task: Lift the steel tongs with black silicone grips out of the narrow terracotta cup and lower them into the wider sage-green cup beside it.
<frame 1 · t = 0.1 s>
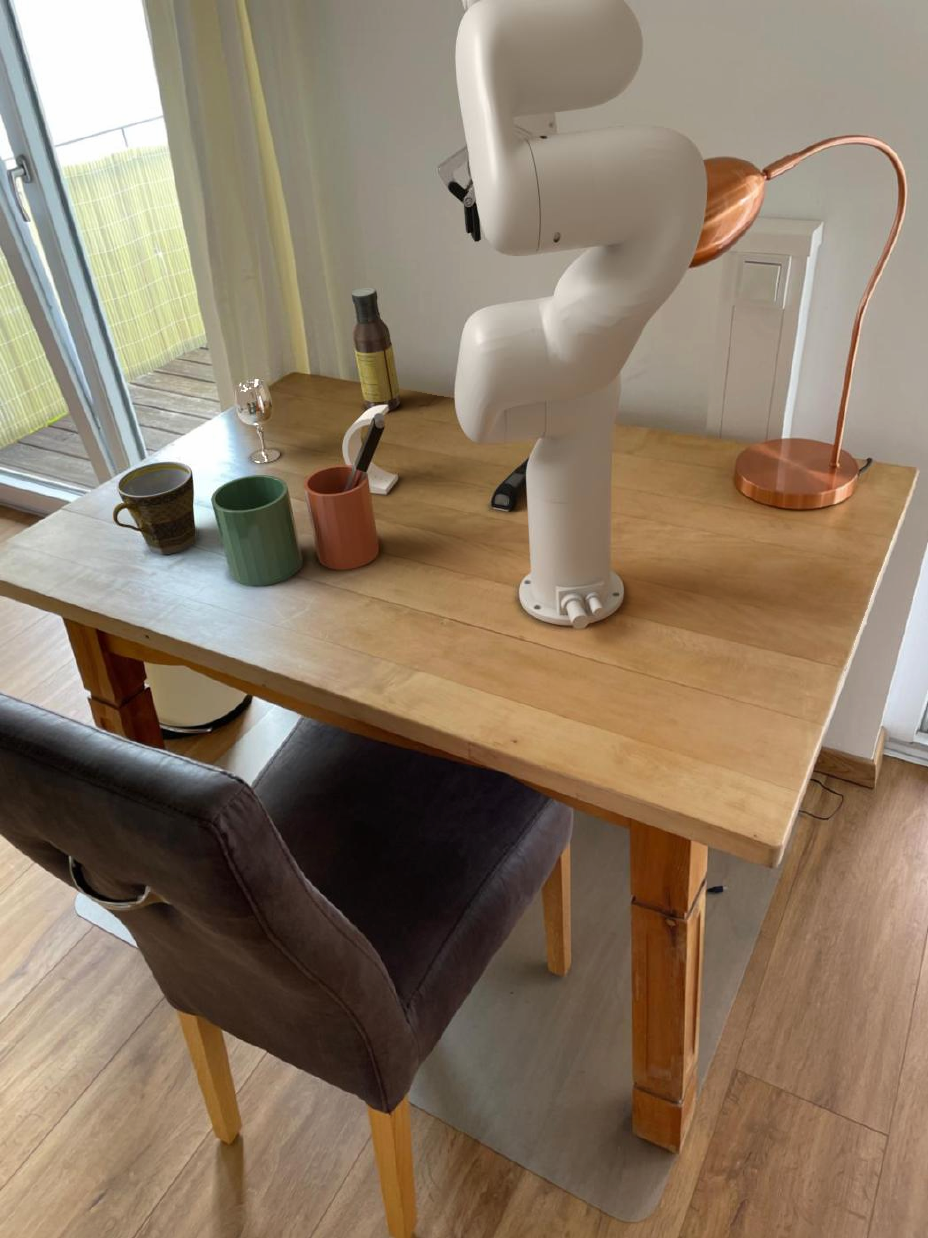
hand: (515, 233, 120), 37 cm above the table, tool pointing down, fingers open, 9 cm apart
headphone stand: (373, 486, 149), on the table
wineglass: (266, 457, 160), on the table
electric trimmer: (521, 486, 145), on the table
terracotta cup: (348, 552, 134), on the table, touching tongs
green cup: (266, 565, 133), on the table
ceramic cup: (165, 548, 139), on the table
sauce bottle: (382, 407, 172), on the table
tongs: (327, 550, 133), point 1 cm above the table, touching terracotta cup
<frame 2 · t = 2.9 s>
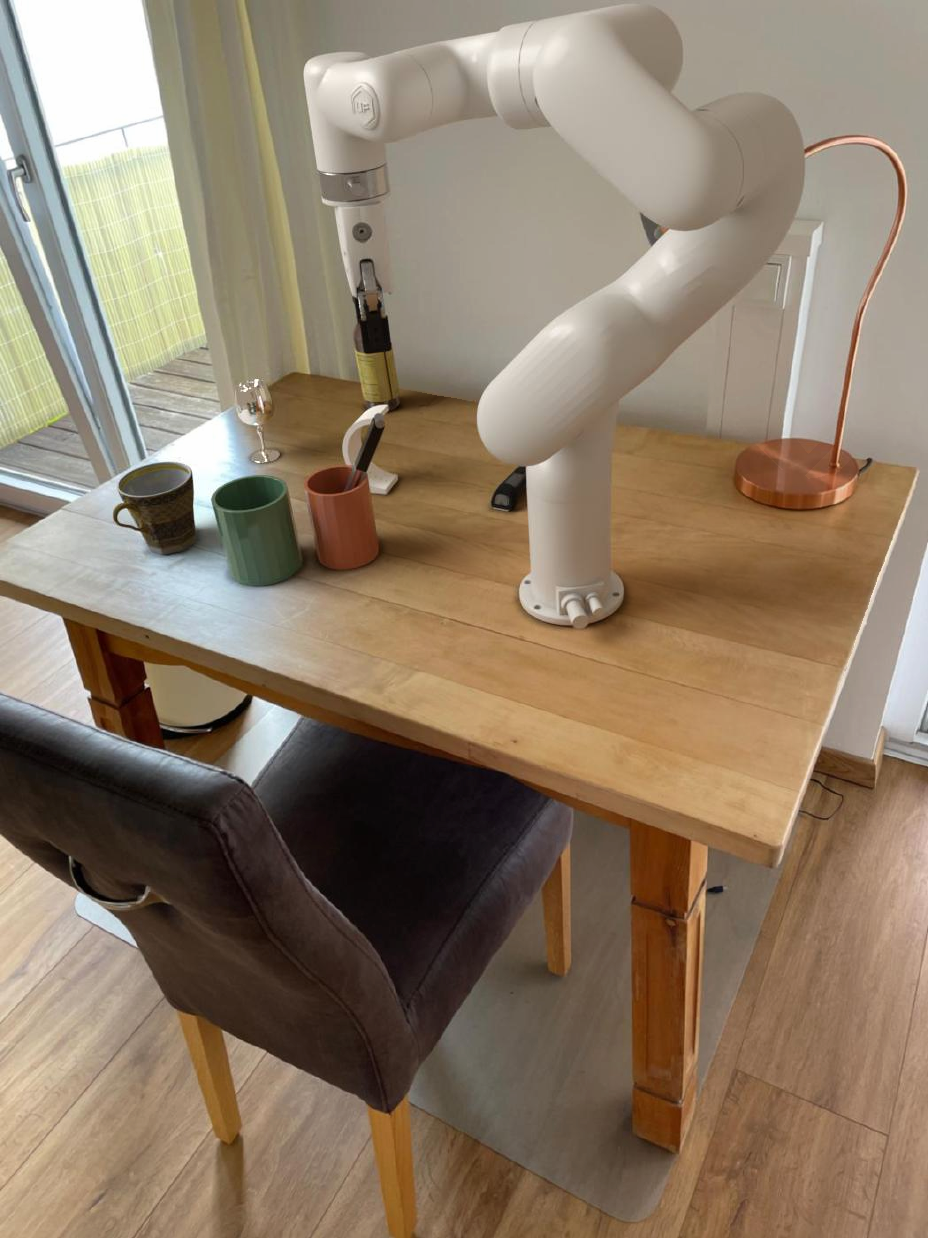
hand: (374, 336, 119), 28 cm above the table, tool pointing down, fingers open, 9 cm apart
nothing on the table moved.
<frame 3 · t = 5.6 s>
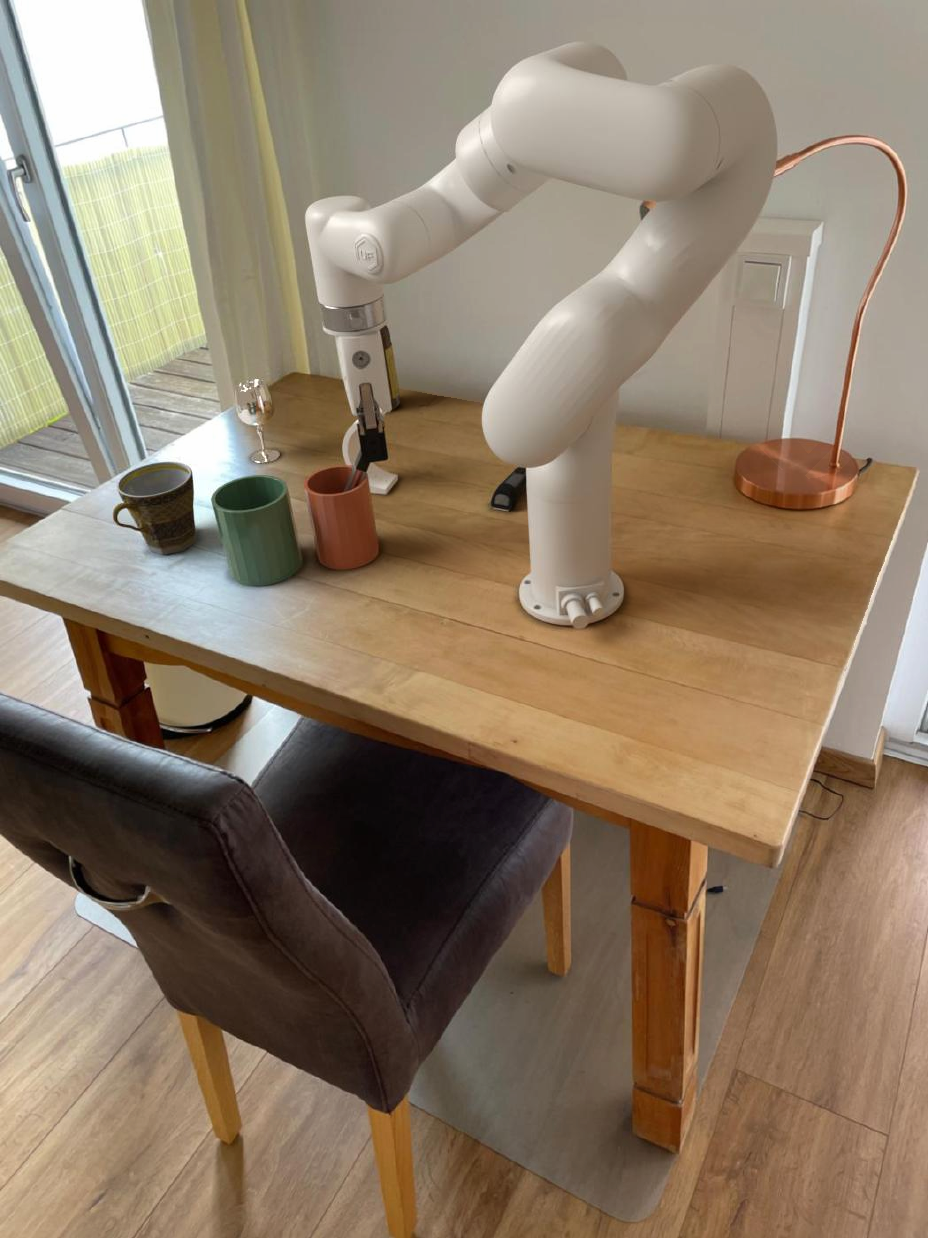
hand: (374, 455, 127), 14 cm above the table, tool pointing down, fingers closed on tongs, 2 cm apart
tongs: (327, 550, 133), point 1 cm above the table, touching gripper, terracotta cup
everything else where it was.
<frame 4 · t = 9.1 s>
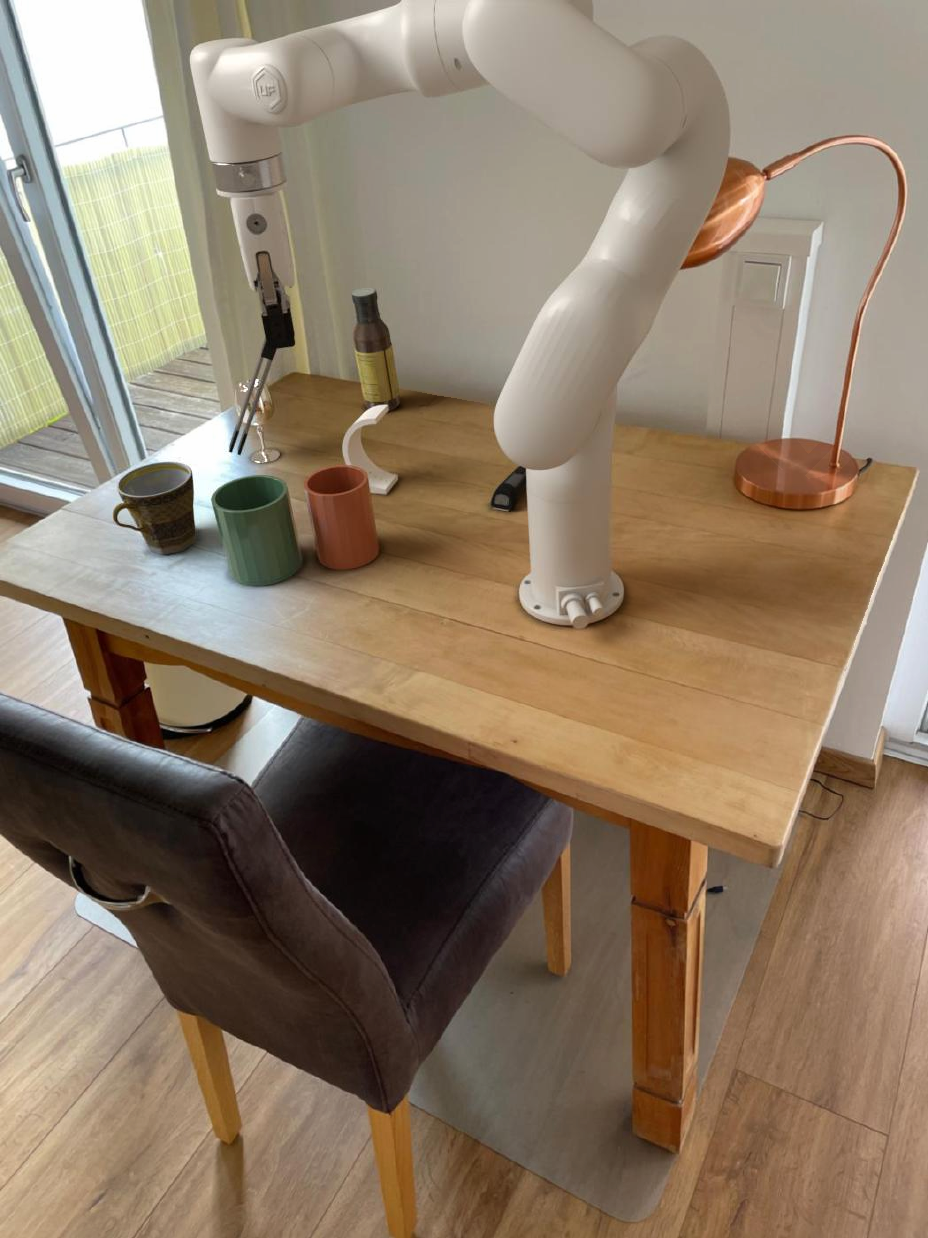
hand: (281, 341, 117), 30 cm above the table, tool pointing down, fingers closed on tongs
terracotta cup: (348, 552, 134), on the table
tongs: (234, 450, 123), point 17 cm above the table, touching gripper
everything else where it was.
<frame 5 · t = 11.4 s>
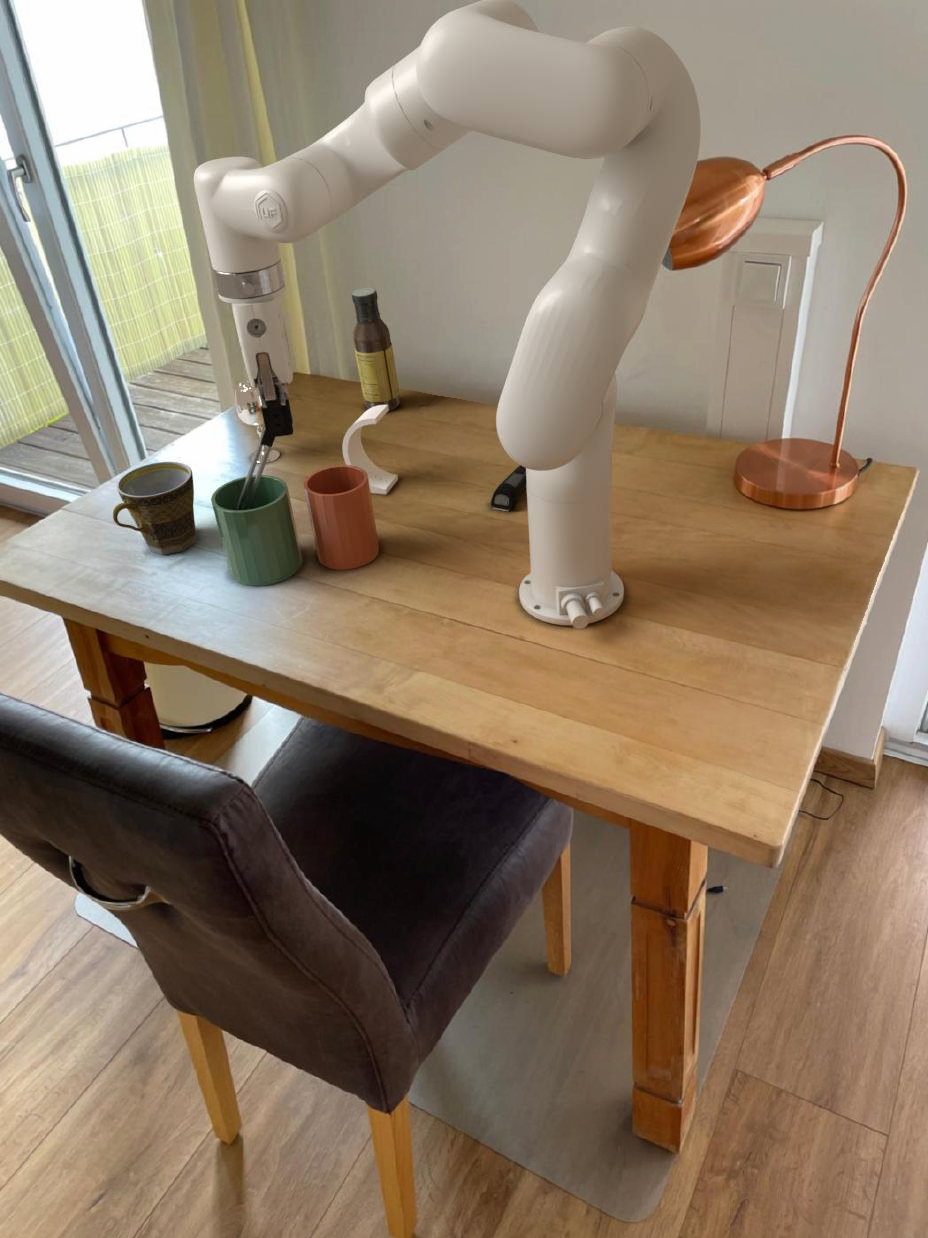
hand: (280, 429, 123), 19 cm above the table, tool pointing down, fingers closed on tongs
tongs: (235, 528, 129), point 6 cm above the table, touching gripper
everything else where it was.
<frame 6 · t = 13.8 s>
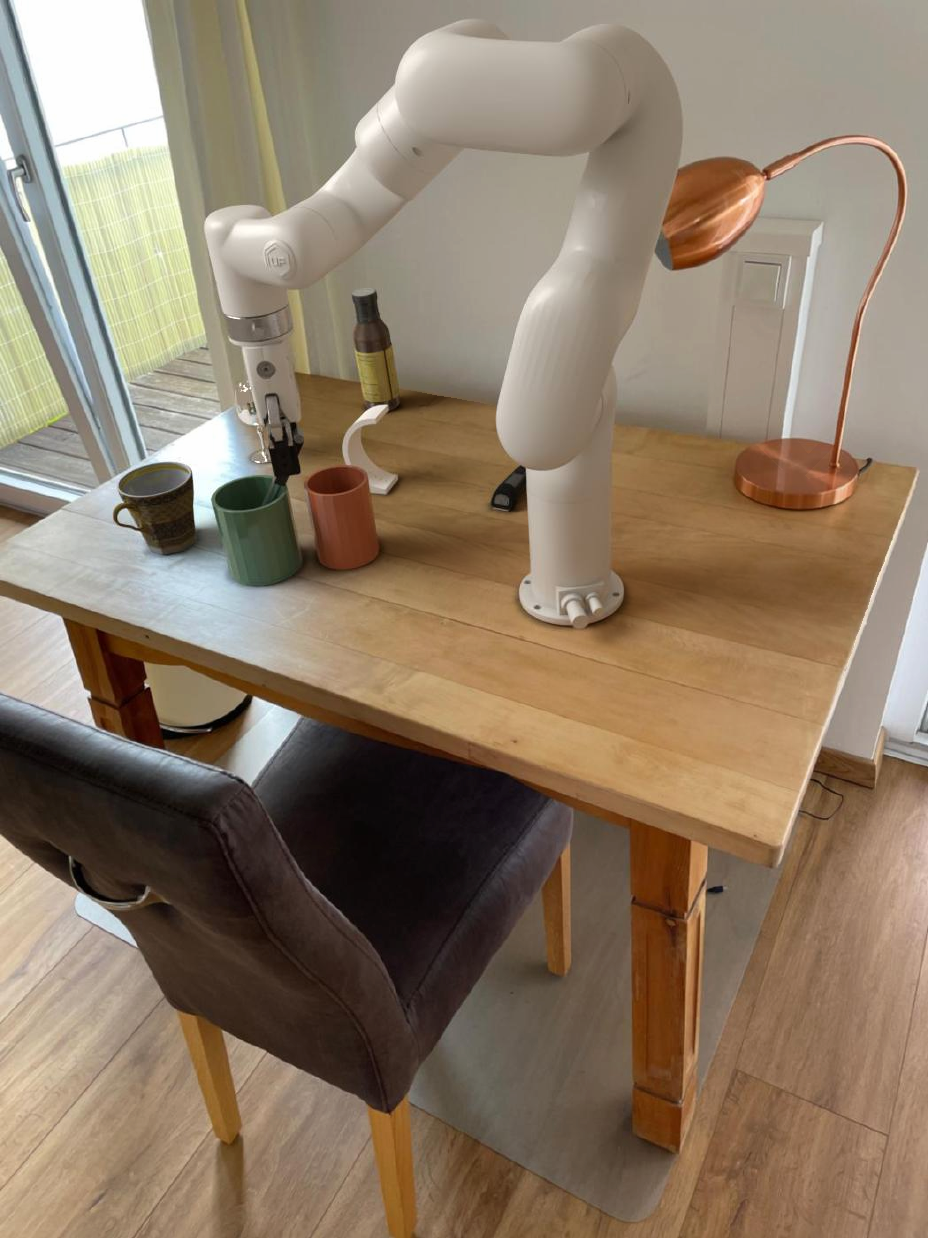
hand: (287, 456, 125), 15 cm above the table, tool pointing down, fingers open, 9 cm apart
green cup: (266, 565, 133), on the table, touching tongs
tongs: (244, 562, 133), point 1 cm above the table, touching green cup
everything else where it was.
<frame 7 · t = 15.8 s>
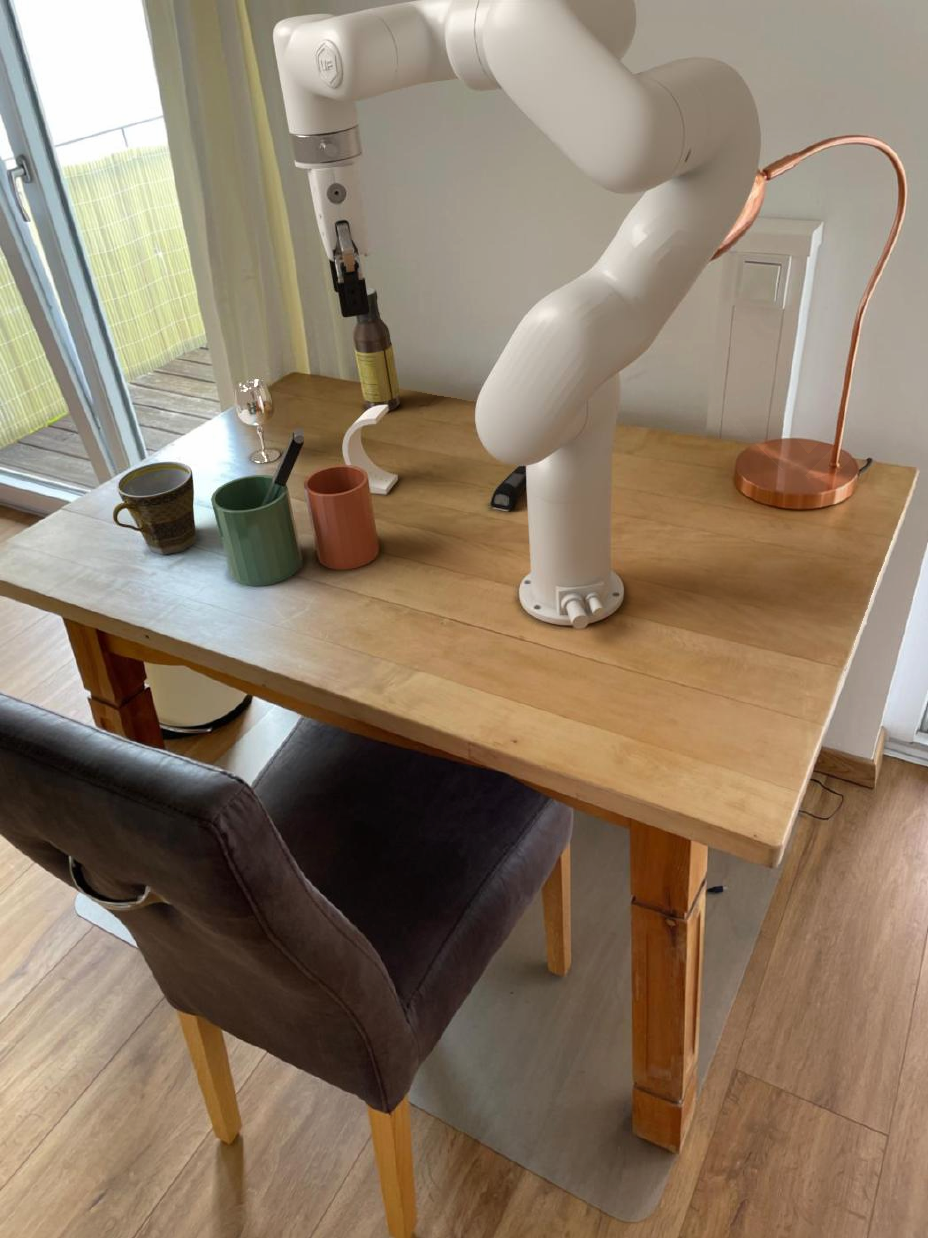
hand: (351, 302, 119), 32 cm above the table, tool pointing down, fingers open, 9 cm apart
nothing on the table moved.
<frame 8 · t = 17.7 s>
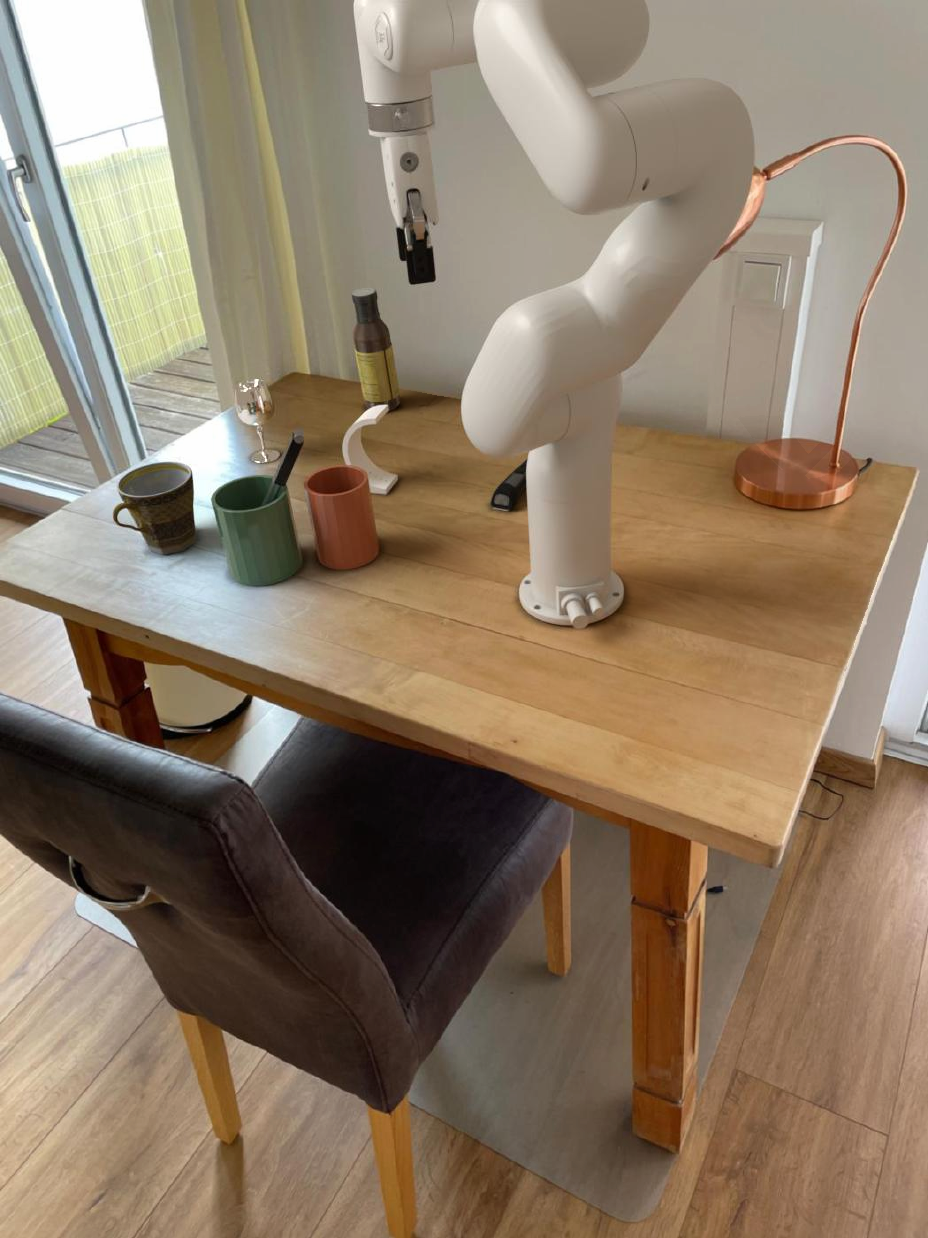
hand: (417, 270, 122), 33 cm above the table, tool pointing down, fingers open, 9 cm apart
nothing on the table moved.
at the end: tongs inside the target area in the green cup (2.7 cm from its centre), point 1.0 cm above the green cup's base; the gripper is holding nothing; terracotta cup moved 0.0 cm from its start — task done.
